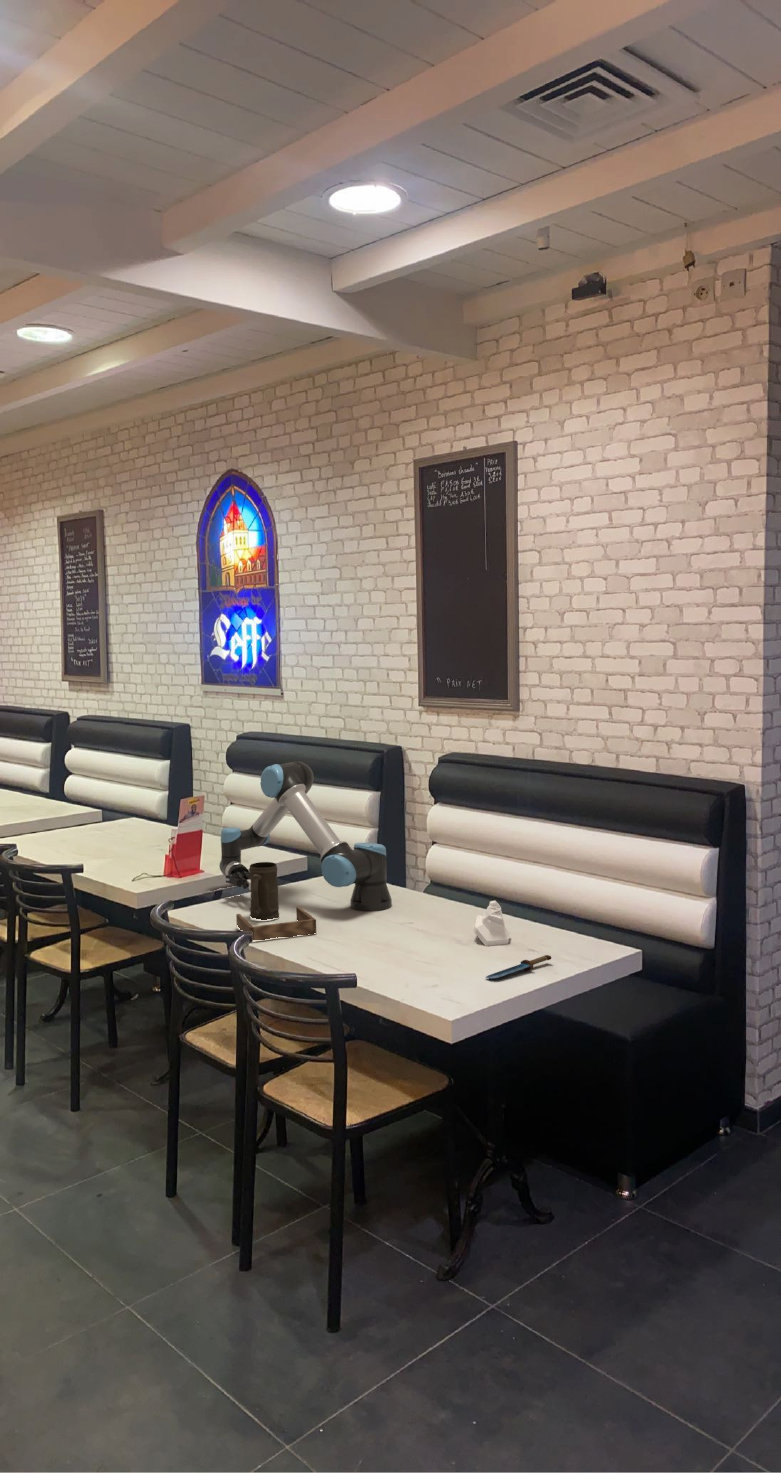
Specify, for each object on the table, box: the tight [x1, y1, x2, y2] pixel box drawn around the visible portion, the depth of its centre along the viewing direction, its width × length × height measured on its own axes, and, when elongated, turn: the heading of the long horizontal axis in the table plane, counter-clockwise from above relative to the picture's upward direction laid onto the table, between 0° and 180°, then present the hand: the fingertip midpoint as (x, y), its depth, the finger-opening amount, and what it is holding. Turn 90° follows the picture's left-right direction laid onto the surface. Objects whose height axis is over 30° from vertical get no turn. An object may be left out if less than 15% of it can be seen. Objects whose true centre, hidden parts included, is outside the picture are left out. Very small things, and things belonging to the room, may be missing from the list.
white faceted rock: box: [473, 900, 511, 947], centre depth 333 cm, size 12×15×14 cm
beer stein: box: [248, 861, 280, 920], centre depth 361 cm, size 15×10×20 cm
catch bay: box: [235, 906, 317, 940], centre depth 347 cm, size 22×18×5 cm
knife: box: [485, 954, 552, 979], centre depth 301 cm, size 24×3×5 cm
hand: (253, 887), depth 373 cm, fingers closed
